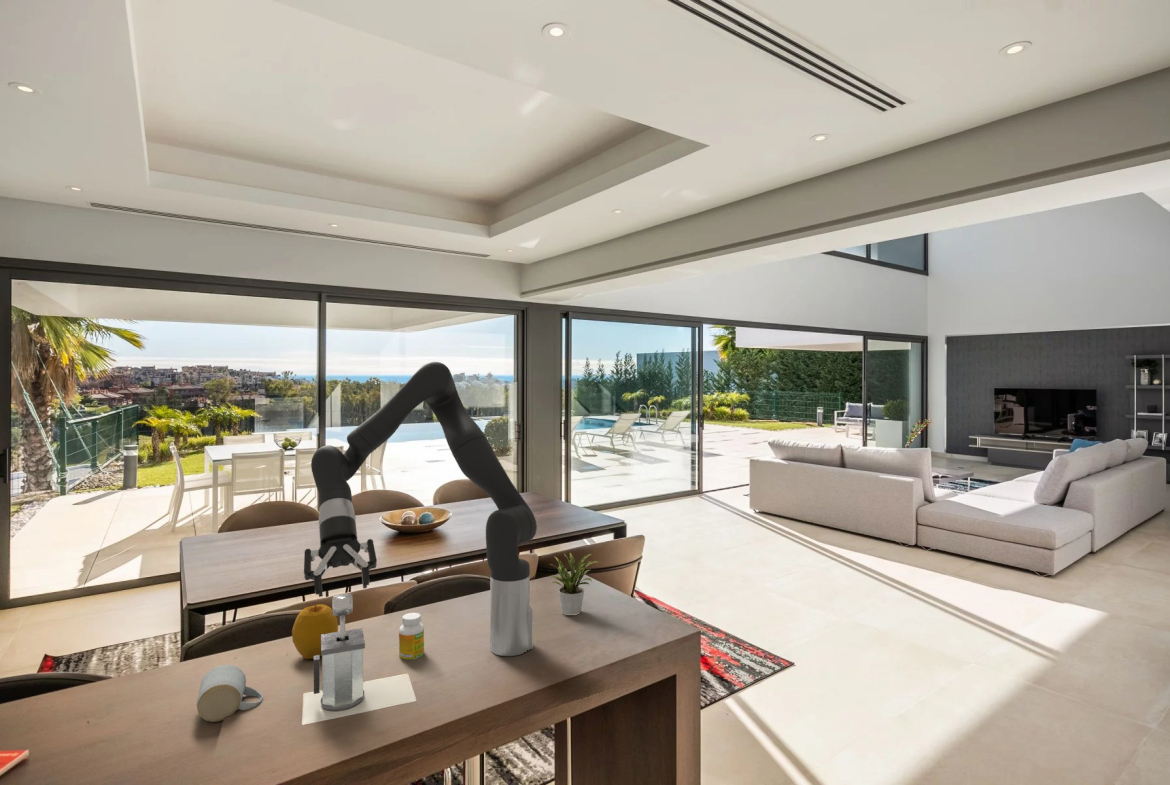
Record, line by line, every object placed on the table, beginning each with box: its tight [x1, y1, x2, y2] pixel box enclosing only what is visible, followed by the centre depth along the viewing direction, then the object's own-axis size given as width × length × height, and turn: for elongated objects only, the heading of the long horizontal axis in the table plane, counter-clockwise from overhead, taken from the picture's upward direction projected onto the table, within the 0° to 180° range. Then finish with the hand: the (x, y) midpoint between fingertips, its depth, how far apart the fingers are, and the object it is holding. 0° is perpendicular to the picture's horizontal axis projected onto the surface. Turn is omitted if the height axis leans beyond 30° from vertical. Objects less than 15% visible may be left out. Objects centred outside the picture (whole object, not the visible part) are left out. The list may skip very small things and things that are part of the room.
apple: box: [291, 603, 339, 660], centre depth 136 cm, size 10×10×12 cm
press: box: [313, 627, 366, 711], centre depth 115 cm, size 9×8×12 cm
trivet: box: [301, 672, 417, 726], centre depth 116 cm, size 20×12×1 cm, turn 114°
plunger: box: [331, 593, 354, 641], centre depth 115 cm, size 5×5×14 cm
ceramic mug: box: [196, 664, 264, 723], centre depth 113 cm, size 11×8×8 cm
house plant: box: [550, 552, 598, 614], centre depth 162 cm, size 14×14×16 cm
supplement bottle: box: [398, 612, 425, 661], centre depth 135 cm, size 5×5×10 cm
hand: (343, 590), depth 123 cm, fingers open, 8 cm apart
